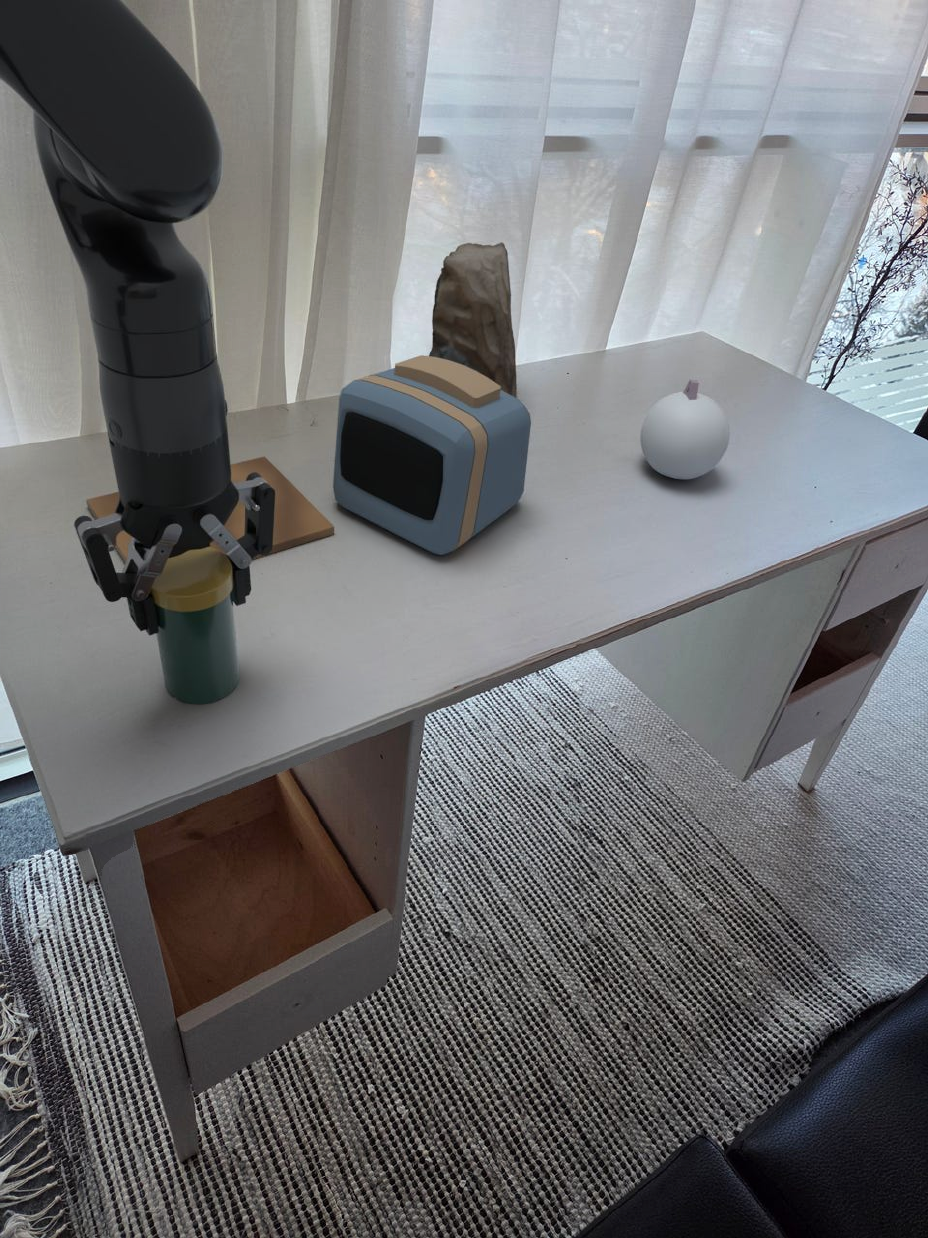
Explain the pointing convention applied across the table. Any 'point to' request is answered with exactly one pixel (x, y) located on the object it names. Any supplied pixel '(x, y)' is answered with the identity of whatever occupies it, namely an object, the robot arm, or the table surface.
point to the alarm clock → (430, 451)
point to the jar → (197, 626)
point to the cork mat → (291, 512)
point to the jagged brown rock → (476, 313)
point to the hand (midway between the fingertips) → (193, 612)
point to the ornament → (685, 434)
